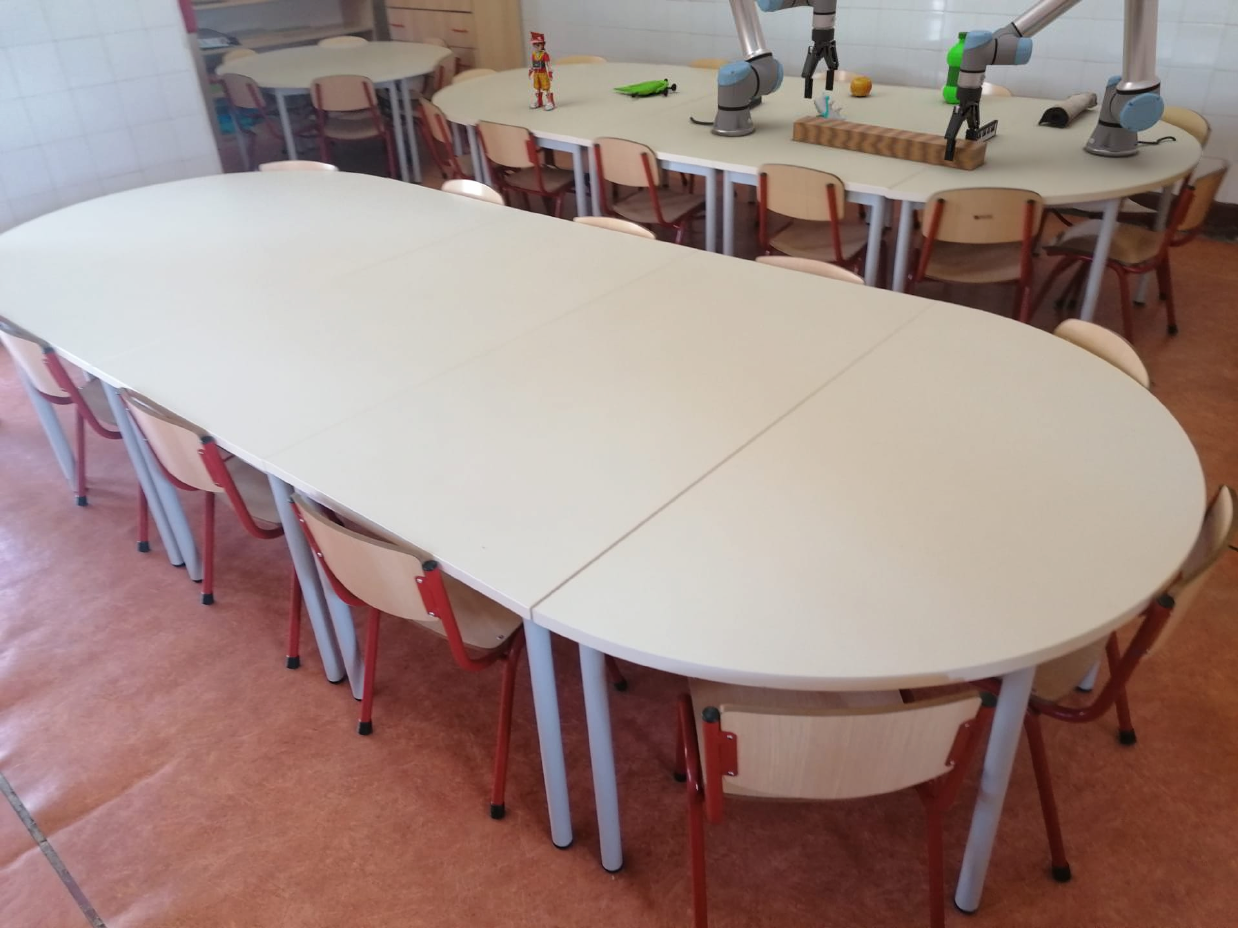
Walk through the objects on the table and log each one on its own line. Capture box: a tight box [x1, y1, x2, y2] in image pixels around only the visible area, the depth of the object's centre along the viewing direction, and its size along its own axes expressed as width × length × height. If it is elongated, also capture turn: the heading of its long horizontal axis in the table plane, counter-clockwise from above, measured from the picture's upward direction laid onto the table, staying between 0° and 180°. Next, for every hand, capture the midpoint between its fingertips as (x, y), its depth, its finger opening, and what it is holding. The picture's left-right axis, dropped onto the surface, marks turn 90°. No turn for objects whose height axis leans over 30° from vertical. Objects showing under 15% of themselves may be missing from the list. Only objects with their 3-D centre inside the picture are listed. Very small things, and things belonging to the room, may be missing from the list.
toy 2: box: [612, 78, 677, 99], centre depth 396 cm, size 28×5×30 cm
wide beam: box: [792, 115, 988, 171], centre depth 305 cm, size 67×9×6 cm, turn 47°
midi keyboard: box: [974, 119, 999, 142], centre depth 308 cm, size 18×1×5 cm, turn 138°
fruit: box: [849, 76, 873, 97], centre depth 369 cm, size 8×8×8 cm
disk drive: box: [749, 96, 763, 110], centre depth 366 cm, size 10×3×15 cm
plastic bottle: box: [942, 31, 969, 104], centre depth 348 cm, size 10×10×25 cm
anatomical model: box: [813, 92, 847, 121], centre depth 342 cm, size 15×10×10 cm
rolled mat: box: [1037, 91, 1098, 128], centre depth 327 cm, size 30×9×10 cm
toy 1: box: [527, 31, 556, 111], centre depth 374 cm, size 12×9×30 cm
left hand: (818, 94), depth 313 cm, fingers open, 13 cm apart
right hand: (958, 155), depth 290 cm, fingers open, 13 cm apart
